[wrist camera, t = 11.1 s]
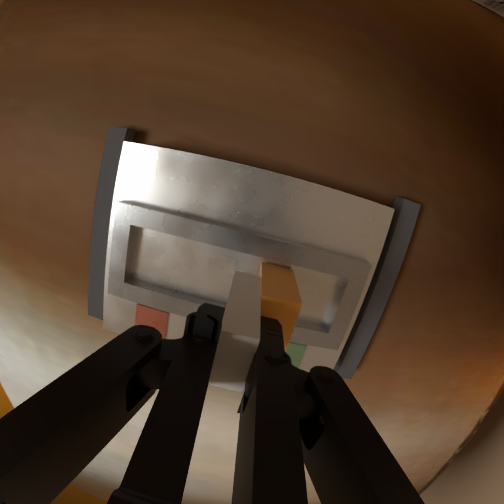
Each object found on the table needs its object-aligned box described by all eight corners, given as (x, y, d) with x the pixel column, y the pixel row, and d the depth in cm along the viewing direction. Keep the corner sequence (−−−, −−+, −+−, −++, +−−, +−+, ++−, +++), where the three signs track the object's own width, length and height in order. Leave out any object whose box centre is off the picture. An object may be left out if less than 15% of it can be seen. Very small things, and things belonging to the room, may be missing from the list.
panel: (146, 144, 21) (117, 140, 16) (373, 201, 22) (401, 211, 17) (122, 306, 25) (97, 334, 20) (318, 355, 25) (328, 391, 21)
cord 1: (118, 128, 21) (109, 126, 19) (135, 130, 21) (126, 128, 19) (96, 307, 25) (88, 314, 23) (110, 312, 25) (103, 320, 23)
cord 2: (395, 196, 21) (404, 198, 20) (411, 202, 21) (420, 204, 20) (331, 366, 26) (335, 377, 24) (347, 368, 26) (351, 379, 24)
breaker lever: (261, 262, 19) (261, 294, 14) (292, 269, 19) (302, 304, 14) (250, 304, 20) (246, 346, 15) (279, 311, 20) (284, 354, 15)
